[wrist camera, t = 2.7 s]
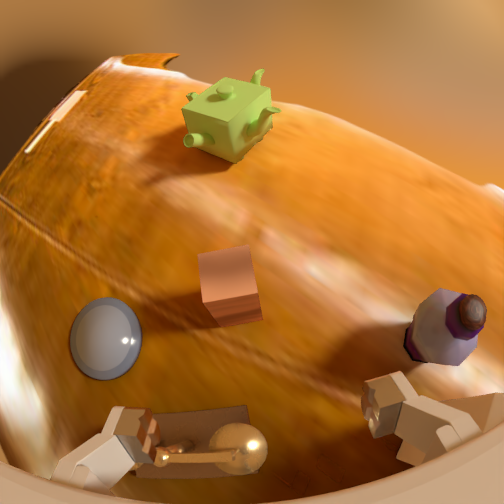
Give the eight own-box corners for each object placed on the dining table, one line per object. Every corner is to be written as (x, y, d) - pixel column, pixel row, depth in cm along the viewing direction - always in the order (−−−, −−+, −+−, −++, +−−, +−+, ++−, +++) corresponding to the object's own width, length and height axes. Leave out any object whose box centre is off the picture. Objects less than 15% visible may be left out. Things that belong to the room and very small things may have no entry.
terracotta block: (262, 319, 34) (257, 292, 27) (220, 327, 34) (202, 302, 27) (255, 281, 37) (248, 244, 29) (215, 288, 37) (197, 254, 29)
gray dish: (145, 378, 32) (142, 377, 31) (74, 380, 32) (70, 380, 31) (140, 294, 37) (137, 291, 36) (74, 304, 37) (71, 302, 36)
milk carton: (394, 458, 25) (495, 490, 8) (416, 402, 28) (528, 385, 11) (440, 467, 23) (547, 487, 6) (460, 414, 26) (573, 397, 9)
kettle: (266, 111, 53) (263, 61, 43) (288, 160, 46) (289, 103, 36) (189, 128, 52) (175, 79, 43) (195, 180, 46) (177, 125, 36)
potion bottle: (456, 365, 29) (515, 343, 18) (398, 383, 29) (450, 370, 19) (441, 302, 33) (492, 260, 22) (385, 314, 33) (427, 273, 23)
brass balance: (275, 468, 26) (274, 496, 16) (128, 474, 26) (76, 491, 16) (262, 402, 30) (256, 403, 20) (118, 414, 30) (64, 411, 20)
